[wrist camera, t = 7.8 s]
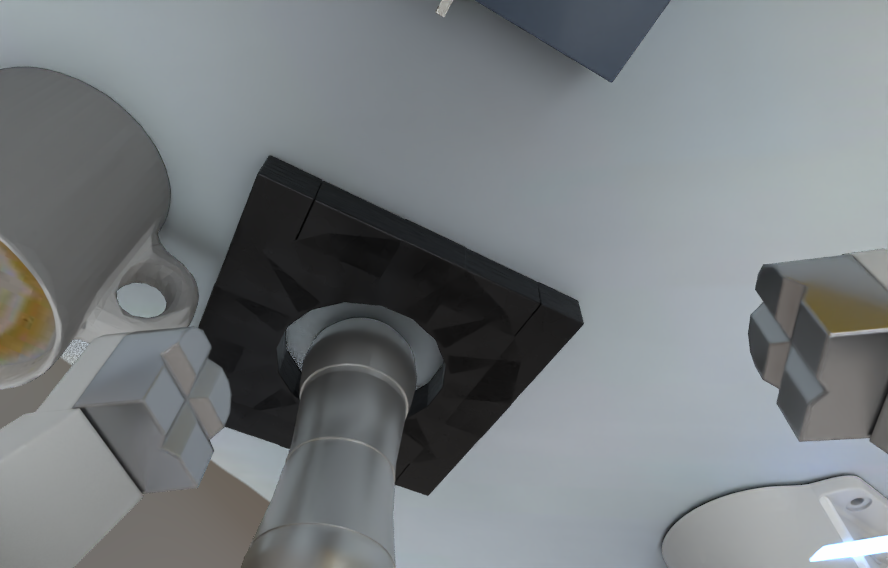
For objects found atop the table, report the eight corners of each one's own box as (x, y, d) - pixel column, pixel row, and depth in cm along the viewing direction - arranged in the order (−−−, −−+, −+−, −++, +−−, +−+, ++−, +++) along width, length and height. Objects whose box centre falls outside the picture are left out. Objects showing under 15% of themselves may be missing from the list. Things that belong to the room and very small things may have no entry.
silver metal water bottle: (321, 385, 38) (214, 788, 21) (302, 301, 33) (154, 721, 17) (422, 384, 37) (391, 793, 21) (416, 300, 33) (372, 726, 17)
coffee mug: (-80, 158, 29) (-290, 279, 21) (15, 16, 25) (-199, 99, 17) (157, 321, 35) (65, 464, 27) (265, 228, 31) (195, 364, 23)
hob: (579, 300, 33) (585, 323, 31) (429, 471, 43) (428, 496, 41) (269, 153, 28) (257, 172, 27) (179, 384, 38) (167, 407, 36)
